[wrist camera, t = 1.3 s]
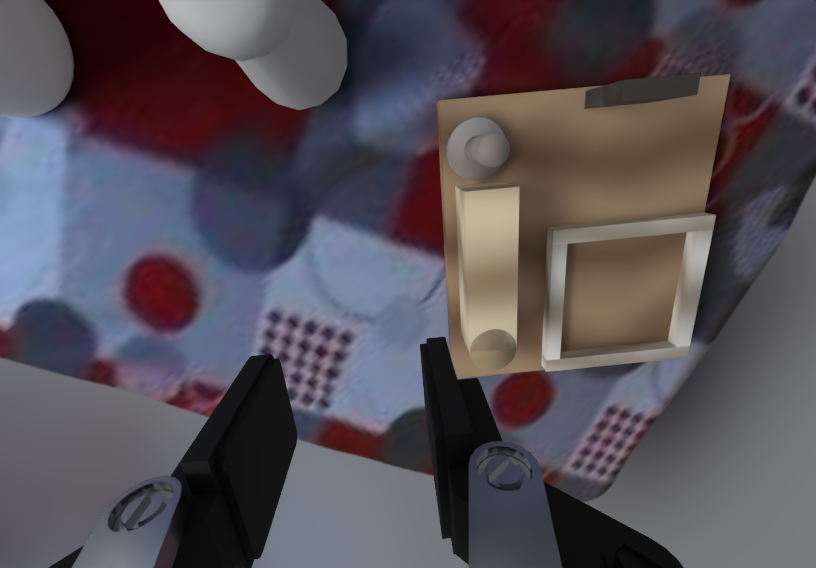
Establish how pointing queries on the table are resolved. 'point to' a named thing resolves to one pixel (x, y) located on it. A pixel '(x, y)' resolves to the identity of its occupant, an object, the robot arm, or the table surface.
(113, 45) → the table surface
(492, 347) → the leg
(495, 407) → the table surface
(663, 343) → the wooden activity board
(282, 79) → the salt shaker
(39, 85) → the milk bottle
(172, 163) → the table surface
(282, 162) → the table surface
